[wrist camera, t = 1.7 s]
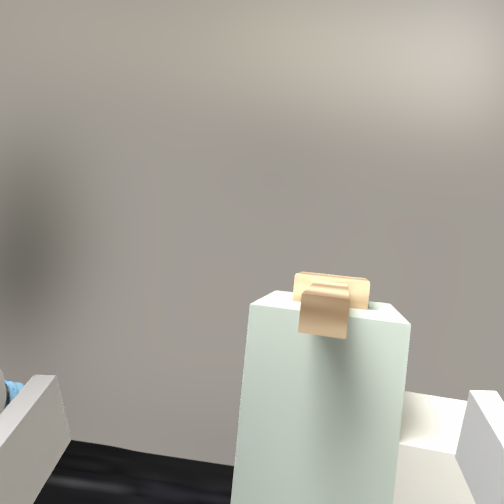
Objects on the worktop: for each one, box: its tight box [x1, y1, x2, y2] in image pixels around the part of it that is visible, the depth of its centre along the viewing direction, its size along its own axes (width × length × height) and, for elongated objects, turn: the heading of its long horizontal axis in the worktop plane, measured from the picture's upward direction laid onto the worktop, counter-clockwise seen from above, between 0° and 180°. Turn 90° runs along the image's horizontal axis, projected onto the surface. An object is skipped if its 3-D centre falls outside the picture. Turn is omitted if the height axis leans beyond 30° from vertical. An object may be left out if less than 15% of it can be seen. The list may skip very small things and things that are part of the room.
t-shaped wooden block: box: [293, 272, 370, 339], centre depth 30 cm, size 19×6×2 cm, turn 168°
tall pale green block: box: [231, 291, 476, 504], centre depth 33 cm, size 12×22×30 cm, turn 78°
